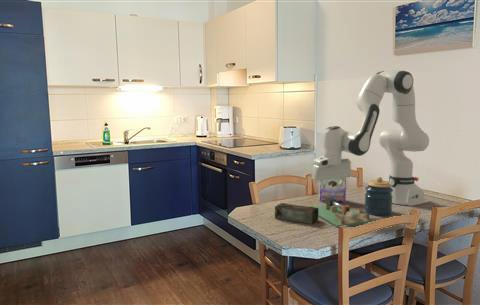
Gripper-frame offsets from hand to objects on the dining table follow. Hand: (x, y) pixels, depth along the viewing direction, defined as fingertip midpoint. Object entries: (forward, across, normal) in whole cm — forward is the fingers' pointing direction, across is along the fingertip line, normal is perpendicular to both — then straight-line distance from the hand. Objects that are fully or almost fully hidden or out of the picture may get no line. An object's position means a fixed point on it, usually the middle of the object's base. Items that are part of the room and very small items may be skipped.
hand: (331, 187), depth 197 cm
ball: (+9, +1, +17) cm, 19 cm away
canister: (+13, -21, +8) cm, 26 cm away
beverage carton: (+12, +22, +6) cm, 26 cm away
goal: (+12, +1, +19) cm, 22 cm away
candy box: (+13, -11, -18) cm, 24 cm away
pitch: (+12, +1, +8) cm, 14 cm away
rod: (+11, +1, +6) cm, 12 cm away
